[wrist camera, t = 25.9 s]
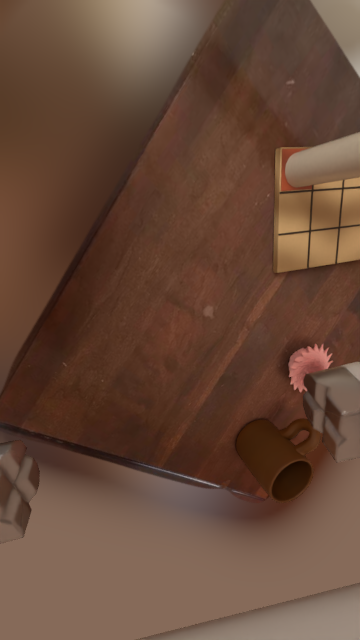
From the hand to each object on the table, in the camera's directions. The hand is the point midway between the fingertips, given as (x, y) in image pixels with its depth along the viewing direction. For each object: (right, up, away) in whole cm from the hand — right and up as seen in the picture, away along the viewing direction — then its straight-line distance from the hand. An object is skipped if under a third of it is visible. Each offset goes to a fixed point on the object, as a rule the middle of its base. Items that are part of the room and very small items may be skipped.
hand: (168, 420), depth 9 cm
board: (+20, +18, +32) cm, 42 cm away
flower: (+19, -3, +39) cm, 43 cm away
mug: (+14, -15, +41) cm, 45 cm away
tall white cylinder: (+15, +21, +28) cm, 38 cm away
